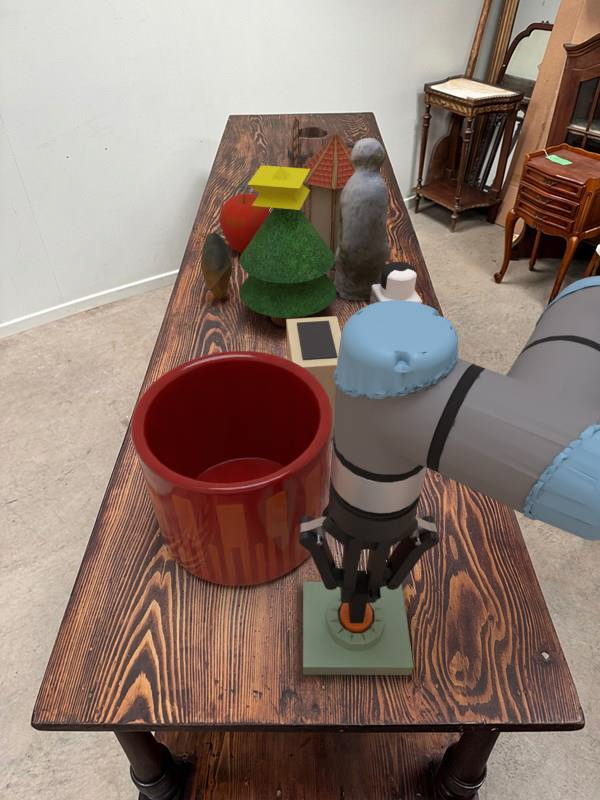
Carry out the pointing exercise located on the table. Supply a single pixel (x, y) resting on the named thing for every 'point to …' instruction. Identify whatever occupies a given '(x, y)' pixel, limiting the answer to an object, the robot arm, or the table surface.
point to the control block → (354, 635)
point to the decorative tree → (285, 251)
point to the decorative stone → (216, 265)
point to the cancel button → (355, 626)
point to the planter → (235, 462)
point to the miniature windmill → (325, 184)
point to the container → (396, 284)
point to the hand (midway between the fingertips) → (355, 611)
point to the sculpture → (362, 224)
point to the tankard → (309, 145)
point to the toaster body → (316, 350)
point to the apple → (241, 220)
